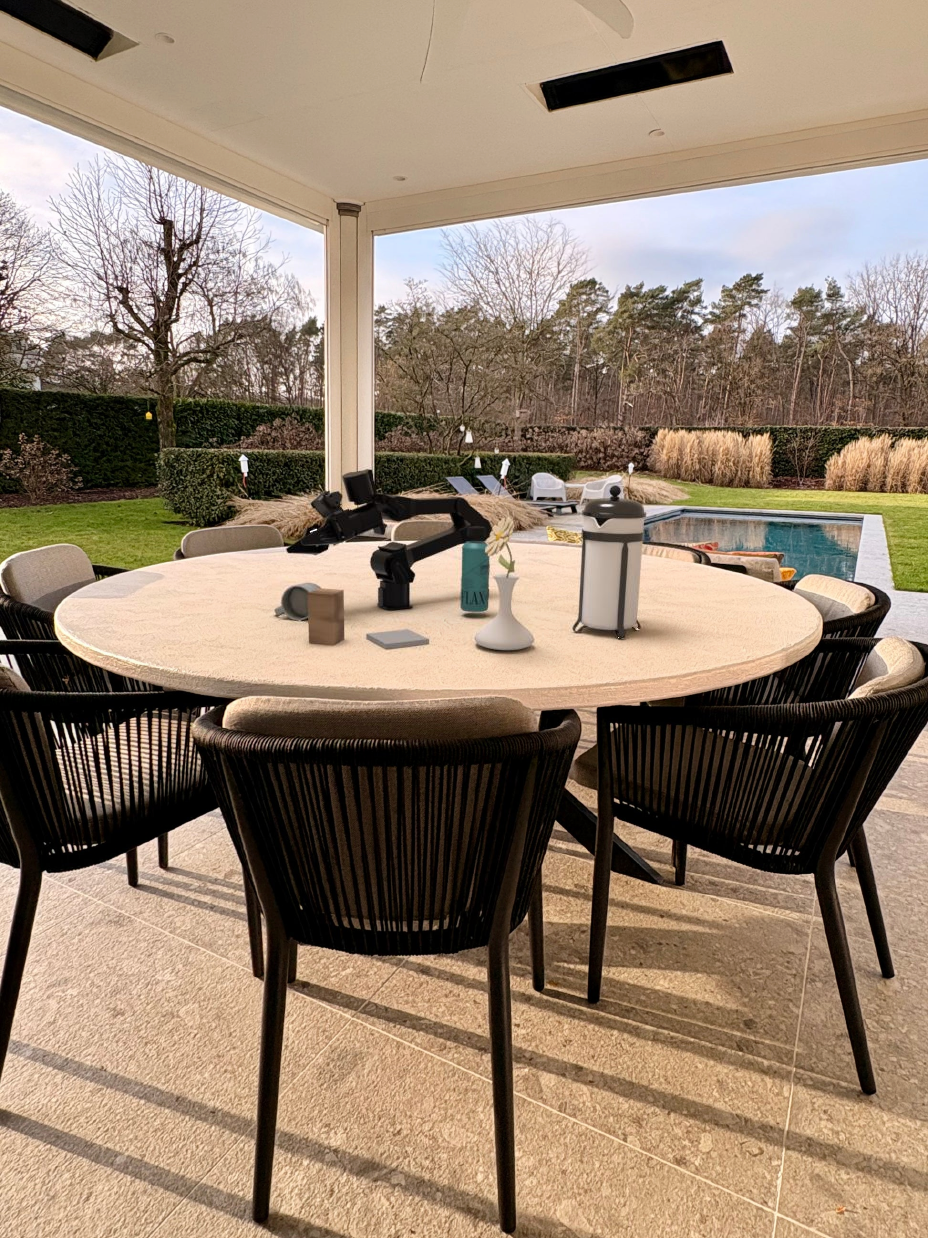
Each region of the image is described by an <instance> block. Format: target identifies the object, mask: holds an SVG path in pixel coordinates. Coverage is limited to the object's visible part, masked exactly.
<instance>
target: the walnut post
mask: <svg viewBox="0 0 928 1238" xmlns="http://www.w3.org/2000/svg"><path fill="white" fill-rule="evenodd" d="M344 592H345V591H344V589H335V588H322V587H321V588H319V589H316V590H314V591H311V592H308V618H307V619H308V620H307V621H308V622H307V623H308V625H307V626H308V627H307V628H308V643H309V645H310V644H312V645H322V646H332V647H333V646H336V645H337V644H339V643H341V642H343V641H345V593H344Z"/></svg>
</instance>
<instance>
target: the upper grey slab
mask: <svg viewBox="0 0 928 1238" xmlns="http://www.w3.org/2000/svg"><path fill="white" fill-rule="evenodd" d="M365 635H366V636H365V637H366V640H367V639H368V641H369V640H370V642H371V641H372V642H371V643H373V642H374V644H375V645H377V646H378V645H379V647H380V646H381V647H380V648H382V647H383V649H384V648H385V649H384V650H386V649H387V650H393V649H392V648H395V649H402V648H401V647H403V648H409V646H411V647H417V645H418V646H424V645H425V646H427V645H430V638H428V637H425V636H423V635H422V634H419V633H417V632H415V631H412V630H410V629H408V628H405V629H397V630H387V631H379V632H368V633H366V634H365Z"/></svg>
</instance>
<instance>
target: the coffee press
mask: <svg viewBox="0 0 928 1238" xmlns="http://www.w3.org/2000/svg"><path fill="white" fill-rule="evenodd" d="M621 492H622V489H621V487H620V486H618V485H613V486H611V487H610V489H609V494H610V495H611V496H610V497H599V498H594V499H592V500H590V501H588V502H587V503H586V504H585V506H584V509H583V510H581V515H582V519H583V521H582V528H581V539H582V541H581V557H580V558H581V562H580V577H579V578H580V580H579V598H578V599H579V600H578V615H577V620H576V622H575V623H574V624H573V626H572V631H573V632H574V633H576V634H580V633H581V632H582V631H583V630H584V629H587V628H591V629H596V630H602V631H603V630H604V631H605V630H606V631H612V632H614V635H615V637H617V638H618V637H619V639H618V640H622V639H621V638H625V639H626V631H625V630H628V629H630V628H631V629H632V628H633V629H632V630H634V629H635V627H634V626H635V625H636V624H637V627H636V628H638V629H640V630H641V628H642V624H641V623H640V622H639V620H638V611H639V610H638V609H639V597H640V583H641V581H640V580H641V569H642V568H641V567H642V552H643V542H644V540H645V531H644V528H645V527H644V524H645V523H644V522H645V519H646V517H647V512H646V511H645V508H644V505H643V504H642V503H641V502H639V501H637V500H635V499H630V498H620V496H619V495H620V494H621ZM580 623H581V624H582V626H580V627H579V628H578V629H576V628H577V627H578V626H579V624H580ZM617 638H616V639H617Z"/></svg>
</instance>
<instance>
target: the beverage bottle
mask: <svg viewBox="0 0 928 1238" xmlns="http://www.w3.org/2000/svg"><path fill="white" fill-rule="evenodd" d="M467 536H469V537H485V536H486V532H485V527H481V526H471V527H468V531H467ZM487 545H488V543H486V541H484V542H483V541H468V542H466V543H465V544H462V546H461V578H460V594H459V595H460V598H459V600H460V603H459V604H460V605H459V606H460V609H461V611H463V612H469V613H470V612H471V613H481V612H487V611H488V609H489V603H490V601H489V599H490V569H491V567H490V566H491V564H490V556H488V553H485V548H486V547H487Z"/></svg>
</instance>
